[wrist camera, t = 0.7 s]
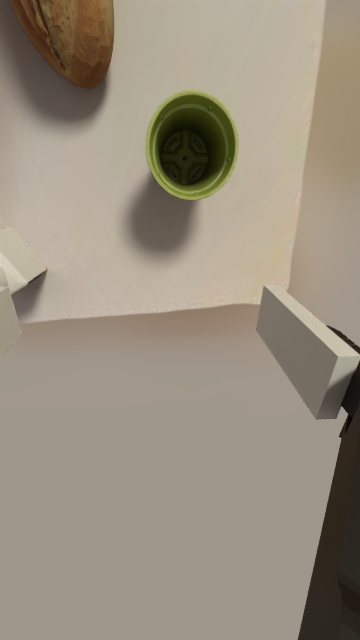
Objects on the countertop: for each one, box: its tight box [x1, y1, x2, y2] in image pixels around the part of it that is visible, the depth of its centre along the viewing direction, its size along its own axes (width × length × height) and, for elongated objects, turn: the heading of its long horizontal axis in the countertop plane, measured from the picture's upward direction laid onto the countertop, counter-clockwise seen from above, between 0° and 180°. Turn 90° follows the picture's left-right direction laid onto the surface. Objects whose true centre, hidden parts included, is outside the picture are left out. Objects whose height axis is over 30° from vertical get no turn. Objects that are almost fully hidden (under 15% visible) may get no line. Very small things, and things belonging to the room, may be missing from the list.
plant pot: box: [146, 90, 238, 200], centre depth 31 cm, size 9×9×9 cm
